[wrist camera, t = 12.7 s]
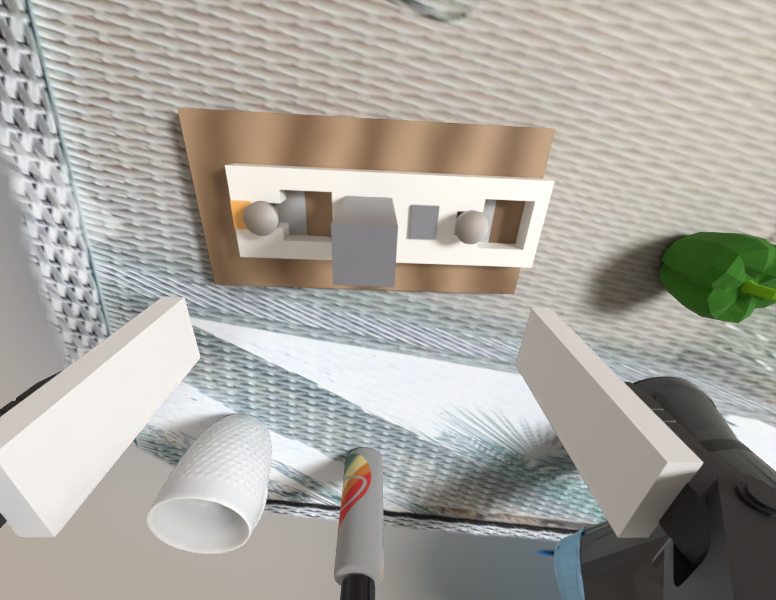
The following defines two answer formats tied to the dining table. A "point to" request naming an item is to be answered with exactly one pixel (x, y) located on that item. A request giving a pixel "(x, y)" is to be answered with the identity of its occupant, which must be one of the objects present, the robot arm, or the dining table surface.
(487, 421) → the dining table surface
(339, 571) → the lotion bottle
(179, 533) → the mug
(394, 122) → the pin board
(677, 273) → the bell pepper
